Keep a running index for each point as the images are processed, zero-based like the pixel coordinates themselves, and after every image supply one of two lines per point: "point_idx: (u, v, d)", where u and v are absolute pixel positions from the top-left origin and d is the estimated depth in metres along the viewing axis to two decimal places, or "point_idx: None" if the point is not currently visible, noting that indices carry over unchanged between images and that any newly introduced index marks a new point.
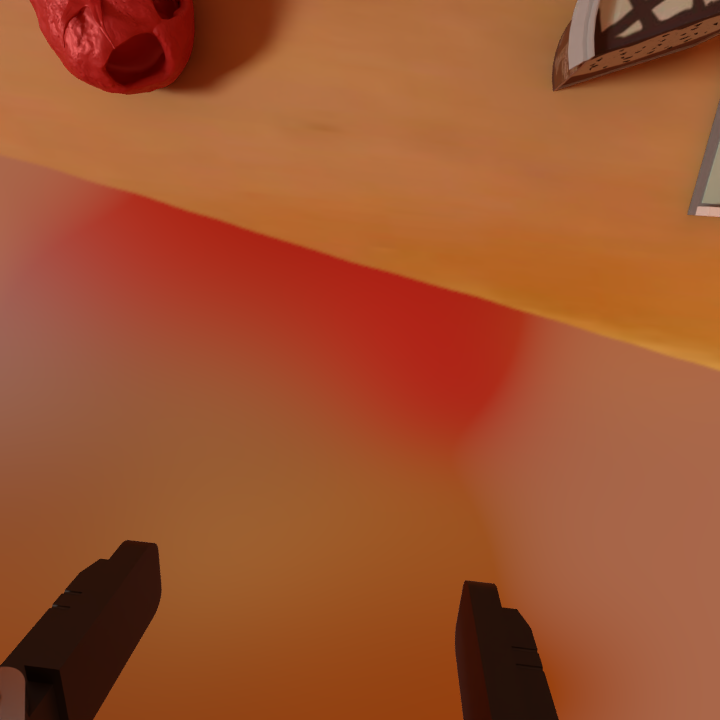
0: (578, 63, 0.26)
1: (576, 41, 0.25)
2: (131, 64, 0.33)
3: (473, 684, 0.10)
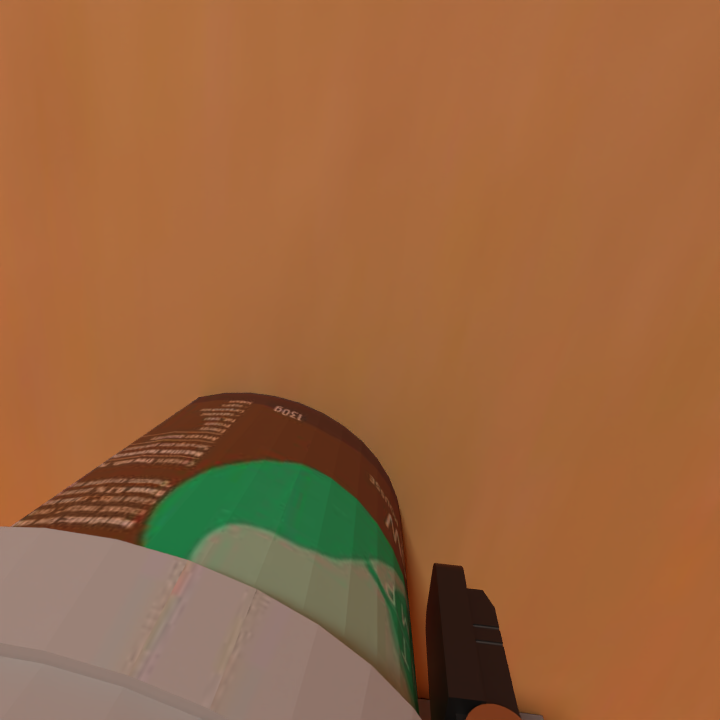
0: None
1: None
2: None
3: (436, 659, 0.10)
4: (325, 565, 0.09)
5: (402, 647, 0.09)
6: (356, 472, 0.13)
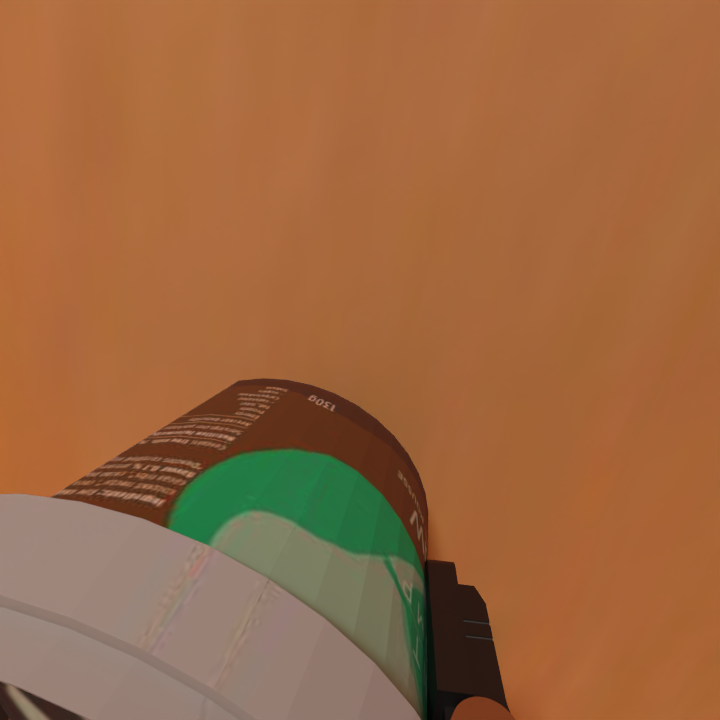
0: None
1: None
2: None
3: (427, 654, 0.11)
4: (342, 559, 0.09)
5: (414, 645, 0.09)
6: (384, 467, 0.13)
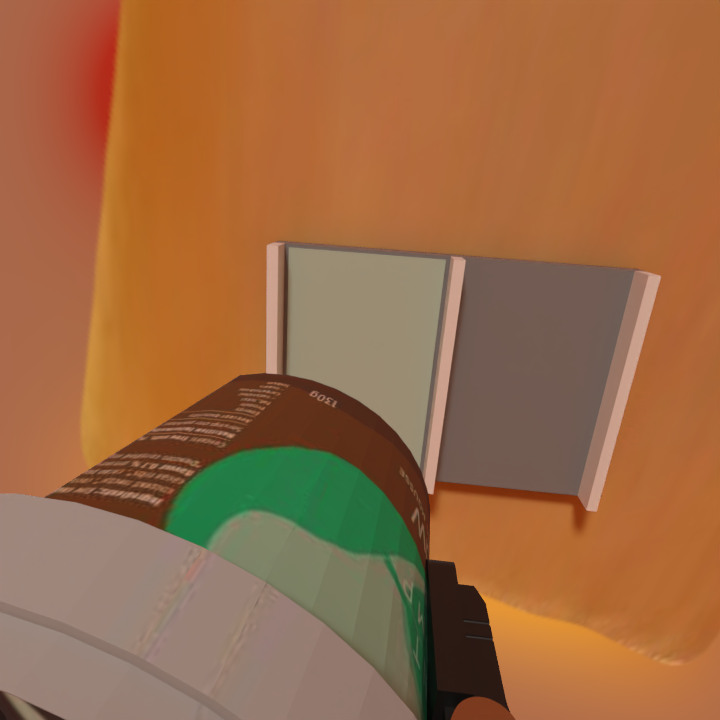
0: None
1: None
2: None
3: None
4: (342, 559, 0.09)
5: (414, 645, 0.09)
6: (386, 464, 0.12)
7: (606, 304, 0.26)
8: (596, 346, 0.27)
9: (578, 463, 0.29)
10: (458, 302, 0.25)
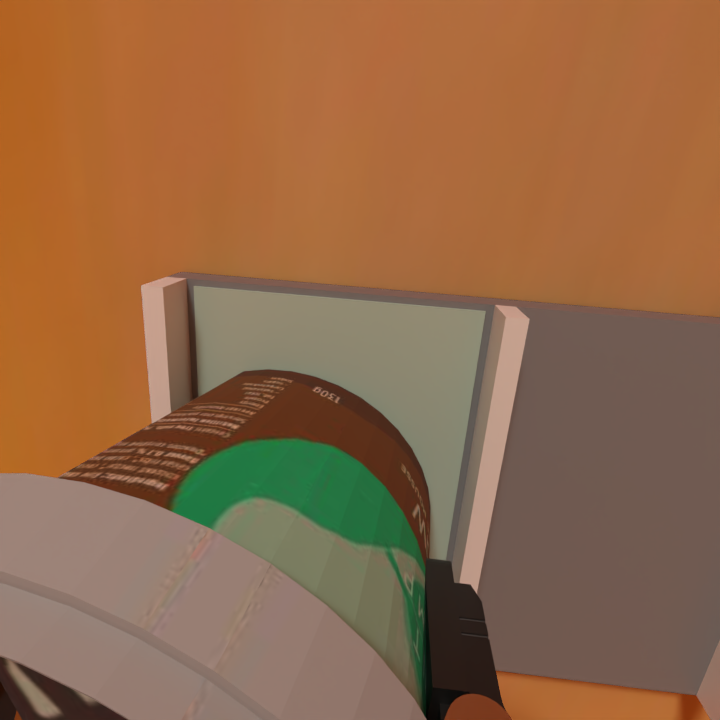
0: None
1: None
2: None
3: None
4: (344, 548, 0.09)
5: (415, 637, 0.09)
6: (388, 460, 0.13)
7: None
8: None
9: (703, 648, 0.17)
10: (512, 396, 0.13)
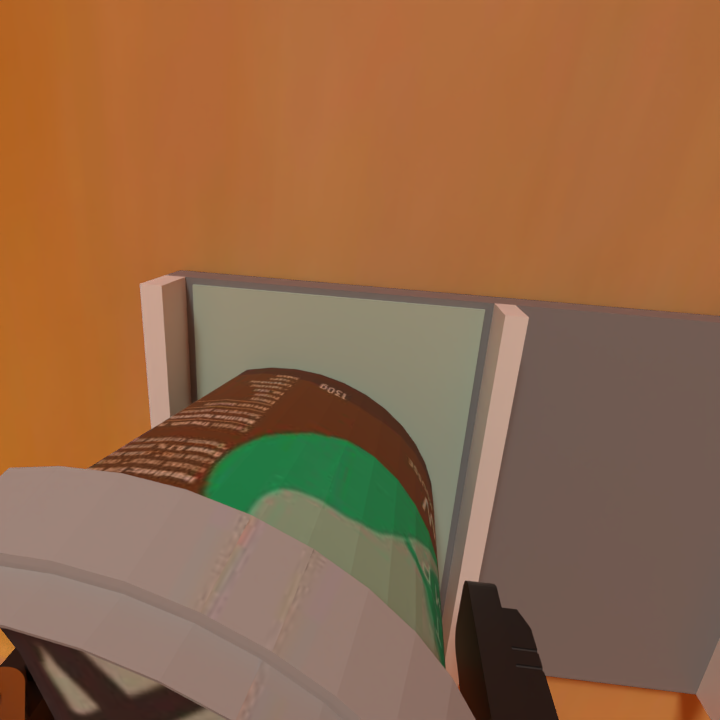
0: None
1: (35, 512, 0.06)
2: None
3: (473, 684, 0.10)
4: (369, 537, 0.09)
5: (436, 624, 0.10)
6: (396, 454, 0.13)
7: None
8: None
9: (702, 647, 0.17)
10: (511, 395, 0.13)
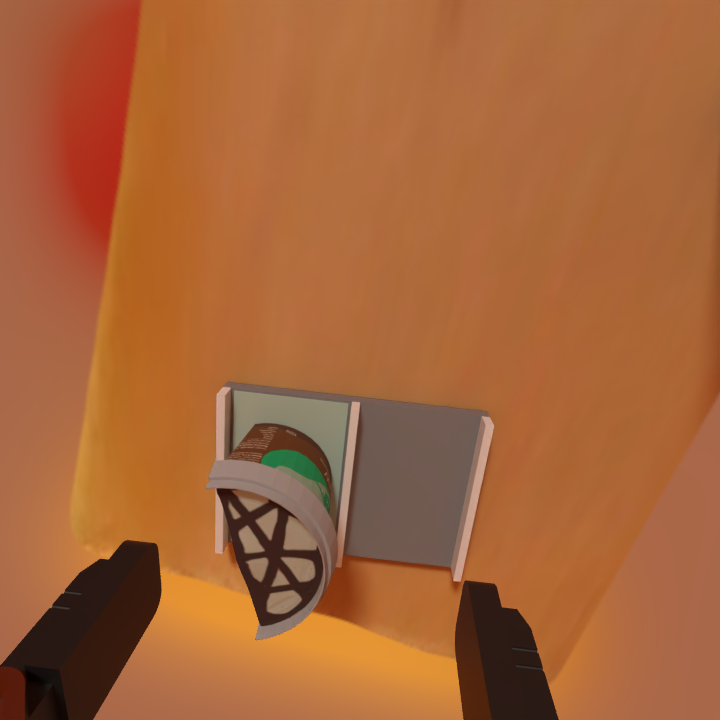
0: (211, 471, 0.28)
1: (230, 469, 0.28)
2: None
3: (473, 684, 0.10)
4: (305, 479, 0.31)
5: (325, 506, 0.32)
6: (315, 456, 0.35)
7: (463, 437, 0.36)
8: (458, 465, 0.37)
9: (450, 544, 0.39)
10: (355, 437, 0.35)
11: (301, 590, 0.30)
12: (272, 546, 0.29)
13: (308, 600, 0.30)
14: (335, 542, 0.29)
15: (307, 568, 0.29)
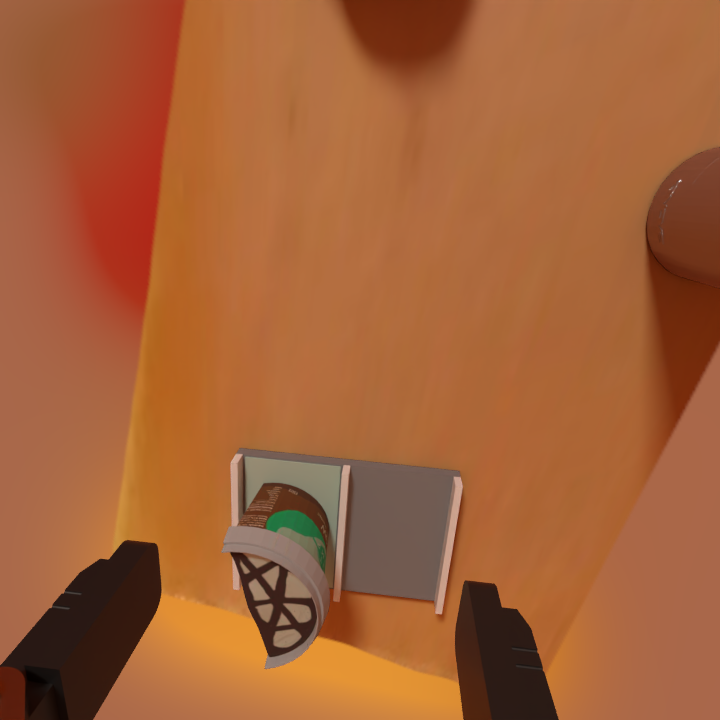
0: (226, 536, 0.35)
1: (240, 535, 0.35)
2: None
3: (473, 684, 0.10)
4: (302, 537, 0.38)
5: (320, 558, 0.38)
6: (313, 512, 0.42)
7: (439, 493, 0.42)
8: (436, 516, 0.43)
9: (432, 582, 0.46)
10: (346, 496, 0.41)
11: (300, 629, 0.37)
12: (276, 595, 0.36)
13: (306, 637, 0.37)
14: (327, 590, 0.36)
15: (304, 611, 0.36)
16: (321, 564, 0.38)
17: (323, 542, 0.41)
